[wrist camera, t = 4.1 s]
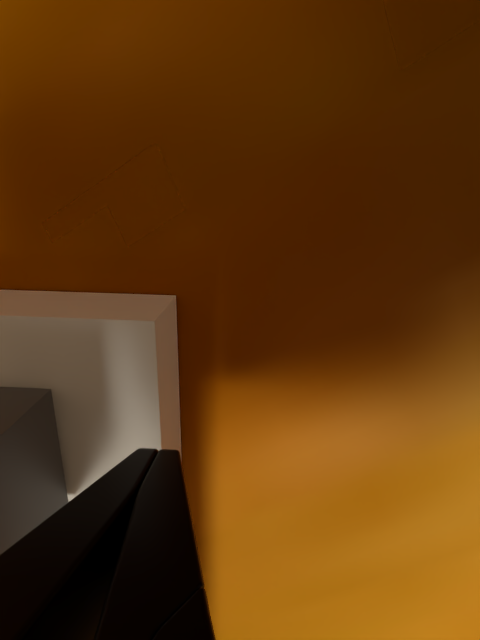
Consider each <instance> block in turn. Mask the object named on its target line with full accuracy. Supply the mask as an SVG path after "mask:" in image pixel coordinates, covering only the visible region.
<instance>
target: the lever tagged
mask: <svg viewBox="0 0 480 640" xmlns="http://www.w3.org/2000/svg"><path fill="white" fill-rule="evenodd" d="M67 503H68V496H67V489H66V483H65V476H64V470H63V463H62V457H61V450H60V444H59V437H58V431H57V424H56V418H55V411H54V405H53V398H52V392H51V389H44V388H21V387H0V554H2V553H3V552H4V551H6V550H7V549H8V548H10V547H11V546H12V545H13V544H15V543H16V542H17V541H19V540H20V539H21V538H23V537H24V536H25V535H26V534H28V533H29V532H30V531H32V530H33V529H34V528H35V527H37V526H38V525H39V524H41V523H42V522H43V521H45V520H46V519H47V518H48V517H50V516H51V515H52V514H54V513H55V512H56V511H58V510H59V509H60V508H61V507H63V506H64V505H65V504H67Z"/></svg>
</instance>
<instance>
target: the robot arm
mask: <svg viewBox="0 0 480 640" xmlns="http://www.w3.org/2000/svg"><path fill="white" fill-rule="evenodd" d="M0 640H216V639H215V635H214V630H213V626H212V621H211V617H210V612H209V607H208V601H207V596H206V591H205V589H204V581H203V576H202V570H201V565H200V559H199V554H198V548H197V543H196V538H195V532H194V527H193V521H192V516H191V511H190V505H189V500H188V494H187V489H186V483H185V478H184V473H183V467H182V462H181V456H180V452H179V451H178V450H173V449H161V450H159V451H158V450H157V449H152V448H139V449H137V450H135V451H134V452H133V453H131V454H130V455H129V456H128V457H126V458H125V459H124V460H122V461H121V462H120V463H119V464H117V465H116V466H115V467H113V468H112V469H111V470H109V471H108V472H107V473H106V474H104V475H103V476H102V477H100V478H99V479H98V480H96V481H95V482H94V483H93V484H91V485H90V486H89V487H87V488H86V489H85V490H83V491H82V492H81V493H80V494H78V495H77V496H76V497H74V498H73V499H72V500H71V501H69V502H68V503H67V504H65V505H64V506H63V507H61V508H60V509H59V510H58V511H56V512H55V513H54V514H52V515H51V516H50V517H48V518H47V519H46V520H45V521H43V522H42V523H41V524H39V525H38V526H37V527H35V528H34V529H33V530H32V531H30V532H29V533H28V534H26V535H25V536H24V537H23V538H21V539H20V540H19V541H17V542H16V543H15V544H13V545H12V546H11V547H10V548H8V549H7V550H6V551H4V552H3V553H2V554H0Z"/></svg>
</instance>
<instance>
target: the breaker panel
mask: <svg viewBox="0 0 480 640" xmlns="http://www.w3.org/2000/svg"><path fill="white" fill-rule="evenodd" d="M0 387H21V388H44V389H51V392H52V398H53V405H54V411H55V418H56V424H57V431H58V437H59V444H60V450H61V457H62V463H63V470H64V476H65V483H66V489H67V496H68V502H69V501H71V500H72V499H73V498H74V497H76V496H77V495H78V494H80V493H81V492H82V491H83V490H85V489H86V488H87V487H89V486H90V485H91V484H93V483H94V482H95V481H96V480H98V479H99V478H100V477H102V476H103V475H104V474H106V473H107V472H108V471H109V470H111V469H112V468H113V467H115V466H116V465H117V464H119V463H120V462H121V461H122V460H124V459H125V458H126V457H128V456H129V455H130V454H131V453H133V452H134V451H135V450H137V449H139V448H152V449H157V450H158V451H159V450H161V449H173V450H178V451H179V452H180V456H181V462H182V455H181V425H180V396H179V367H178V338H177V308H176V295H150V294H120V293H90V292H59V291H29V290H0Z"/></svg>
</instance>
